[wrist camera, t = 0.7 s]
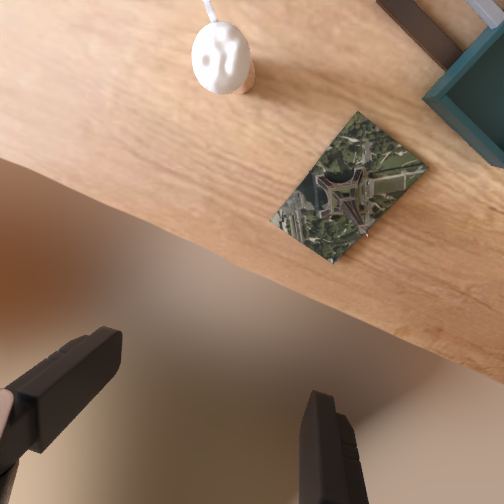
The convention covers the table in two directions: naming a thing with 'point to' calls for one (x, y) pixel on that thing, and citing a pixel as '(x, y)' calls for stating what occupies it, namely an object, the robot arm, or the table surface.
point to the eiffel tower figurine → (348, 189)
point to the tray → (477, 88)
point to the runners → (422, 31)
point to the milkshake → (222, 57)
